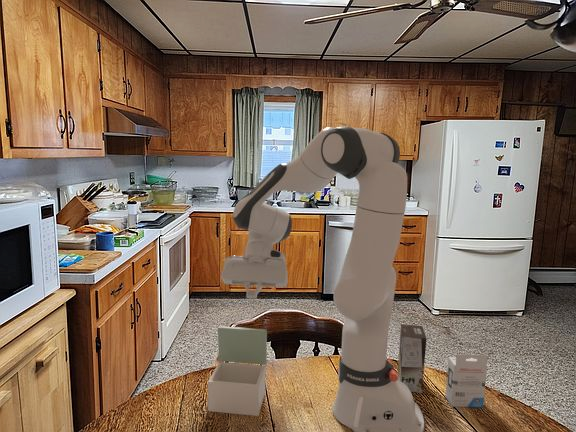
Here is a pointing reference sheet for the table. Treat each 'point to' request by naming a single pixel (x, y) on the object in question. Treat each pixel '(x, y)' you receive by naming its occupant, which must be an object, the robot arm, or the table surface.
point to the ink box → (466, 380)
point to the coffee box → (412, 357)
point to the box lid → (242, 345)
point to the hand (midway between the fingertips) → (251, 297)
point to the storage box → (237, 388)
